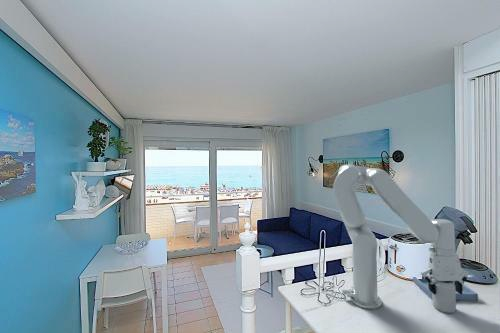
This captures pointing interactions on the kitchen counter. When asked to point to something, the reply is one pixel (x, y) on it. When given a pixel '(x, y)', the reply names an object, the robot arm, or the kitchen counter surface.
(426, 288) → the tray
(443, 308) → the can
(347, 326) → the kitchen counter surface
